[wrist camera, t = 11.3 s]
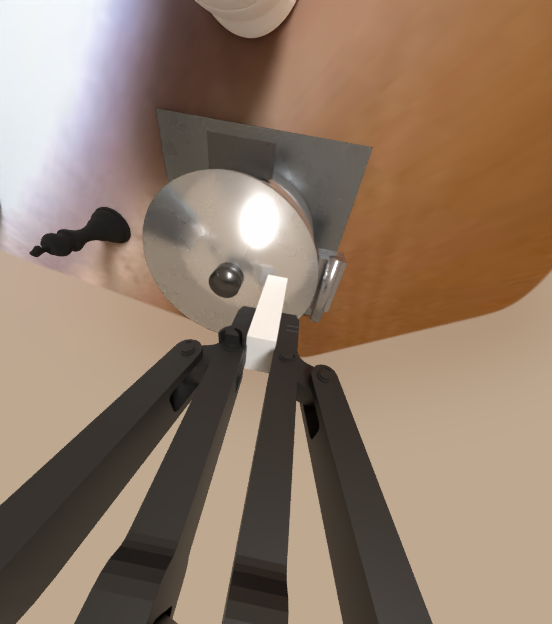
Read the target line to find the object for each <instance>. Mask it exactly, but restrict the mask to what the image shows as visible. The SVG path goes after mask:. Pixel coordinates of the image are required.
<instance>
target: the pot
mask: <svg viewBox="0 0 552 624" xmlns="http://www.w3.org/2000/svg"><path fill="white" fill-rule="evenodd" d="M156 114H157V120H158V126H159V132H160V138H161V144H162V150H163V156H164V161H165V167H166V173H167V179H168V183H170V182H171V181H172V180H174V179H176V178H178V177H180V176H182V175H185V174H187V173H191V172H195V171H199V170H210V169H225V170H234V171H237V172H241V173H245V174H248V175H251V176H253V177H255V178H258V179H260V180H262V181H264V182H265V183H267V184H268V185H270V186H272V187H273V188H275V189H276V190H277V191H278V192H280V193H281V194H282V195H283V196H285V197H286V198H287V199H288V200H289V201H290V203H291V204H292V205H293V206H294V207H295V208H296V209H297V211H298V212H299V213H300V215H301V216H302V218H303V219H304V221H305V223H306V224H307V226H308V228H309V230H310V232H311V235H312V238H313V241H314V243H315V247H316V252H317V259H318V282H317V287H316V291H315V294H314V297H313V299H312V302H311V303H310V305H309V307H308V308H307V310H306V311H305V312H304V314H306V315H311V312H312V309H313V306H314V303H315V300H316V296H317V293H318V290H319V287H320V284H321V281H322V278H323V275H324V272H325V269H326V266H327V263H328V260H329V257H330V256H332V255H334V256H338V257H340V258H342V259H343V261H342V264H341V266H340V269H339V272H338V274H337V277H336V279H335V282H334V285H333V287H332V290H331V293H330V295H329V298H328V301H327V303H326V306H325V309H324V311H325V312H328V310H329V307H330V305H331V302H332V300H333V297H334V295H335V292H336V290H337V287H338V285H339V282H340V279H341V277H342V274H343V272H344V269H345V267H346V264H347V262H346V260H345V257H344V254H343V253H341V252H337V249H338V246H339V244H340V241H341V238H342V235H343V232H344V229H345V226H346V223H347V220H348V218H349V215H350V212H351V209H352V206H353V203H354V200H355V197H356V194H357V191H358V189H359V186H360V183H361V180H362V177H363V174H364V171H365V168H366V165H367V162H368V160H369V157H370V154H371V151H372V148H373V147H369V146H363V145H357V144H352V143H346V142H341V141H335V140H330V139H324V138H319V137H313V136H307V135H302V134H296V133H291V132H285V131H280V130H274V129H269V128H263V127H257V126H252V125H246V124H241V123H235V122H230V121H224V120H219V119H213V118H207V117H202V116H196V115H191V114H185V113H180V112H174V111H169V110H163V109H157V108H156Z"/></svg>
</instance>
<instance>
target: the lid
mask: <svg viewBox="0 0 552 624" xmlns="http://www.w3.org/2000/svg"><path fill="white" fill-rule="evenodd" d="M143 249H144V253H145V258H146V261H147V264H148V267H149V270H150V272H151V274H152V276H153V278H154V280H155V282H156V283H157V285H158V287H159V288H160V290H161V291H162V292H163V294H164V295H165V296H166V298H167V299H168V300H169V301H170V302H171V303H172V304H173V305H174V306H175V307H176V308H177V309H178V310H179V311H180V312H182V313H183V314H184V315H185V316H187V317H188V318H190V319H191V320H193V321H194V322H196V323H197V324H199V325H201V326H203V327H205V328H207V329H210V330H212V331H214V332H217V333H218V332H219V331H220V330H221V329H222V328H224V327H226V326H231V325H232V323H233V321H234V318H235V316H236V314H237V312H238V310H239V309H240V308H241V307H243V306H248V307H253V308H257V305H258V302H259V300H260V297H261V294H262V291H263V288H264V285H265V282H266V280H267V277H268V275H273V276H278V277H283V278H288V280H287V285H286V291H285V296H284V302H283V308H282V313H286V314H292V315H296V316H297V318H298V319H299V318H300V317H301V316H302V315H303V314H304V312H305V311H306V310H307V308H308V307H309V305H310V303H311V302H312V299H313V297H314V294H315V291H316V287H317V282H318V259H317V252H316V247H315V243H314V241H313V238H312V235H311V232H310V230H309V228H308V226H307V224H306V223H305V221H304V219H303V218H302V216H301V215H300V213H299V212H298V211H297V209H296V208H295V207H294V206H293V205H292V204H291V203H290V201H289V200H288V199H287V198H286V197H285V196H283V195H282V194H281V193H280V192H278V191H277V190H276V189H275V188H273V187H272V186H270V185H268V184H267V183H265V182H264V181H262V180H260V179H258V178H255V177H253V176H251V175H248V174H245V173H241V172H237V171H234V170H225V169H210V170H199V171H195V172H191V173H187V174H185V175H182V176H180V177H178V178H176V179H174V180H172V181H171V182H170V183H168V184H167V185H166V186H164V187H163V188H162V189H161V190H160V191H159V193H158V194H157V195H156V196H155V198H154V199H153V201H152V202H151V204H150V206H149V208H148V211H147V213H146V216H145V220H144V225H143ZM342 261H343V259H342V258H340V257H338V256H334V255H332V256H330V257H329V260H328V263H327V266H326V269H325V272H324V275H323V278H322V281H321V284H320V287H319V290H318V293H317V296H316V300H315V303H314V306H313V309H312V312H311V315H310V319H311V320H312V321H313V322H319V321H320V319H321V317H322V314H323V311H324V309H325V306H326V303H327V301H328V298H329V295H330V293H331V290H332V287H333V285H334V282H335V279H336V277H337V274H338V272H339V269H340V266H341V264H342Z"/></svg>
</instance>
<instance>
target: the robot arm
mask: <svg viewBox="0 0 552 624" xmlns="http://www.w3.org/2000/svg"><path fill="white" fill-rule="evenodd" d="M287 280H288V278H283V277H278V276H273V275H268V277H267V280H266V282H265V285H264V288H263V291H262V294H261V297H260V300H259V302H258V305H257V308H253V307H248V306H243V307H241V308H240V309H239V310H238V312H237V314H236V316H235V318H234V321H233V323H232V325H231V326H226V327H224V328H222V329H221V330H220V331H219V332H218V333H219V334H218V335H219V343H217V344H214V345H204V346H201V344H200V342H198V341H197V340H192V339H190V340H184V341H181V342H180V343H178V344H177V345H176V346H174V347H173V348H172V349H171V350H170V351H169V352H168V353H167V354H166V355H165V356H164V357H163V358H161V359H160V360H159V361H158V362H157V363H156V364H155V365H154V366H153V367H151V368H150V369H149V370H148V371H147V372H146V373H145V374H144V375H143V376H142V377H140V379H138V380H137V381H136V382H135V383H134V384H133V385H132V386H131V387H130V388H128V389H127V390H126V391H125V392H124V393H123V394H122V395H121V396H120V397H119V398H117V399H116V400H115V401H114V402H113V403H112V404H111V405H110V406H109V407H108V408H107V409H106V410H104V411H103V412H102V413H101V414H100V415H99V416H98V417H97V418H96V419H94V420H93V421H92V422H91V423H90V424H89V425H88V426H87V427H86V428H85V429H84V430H82V431H81V432H80V433H79V434H78V435H77V436H76V437H75V438H74V439H73V440H71V442H69V443H68V444H67V445H66V446H65V447H64V448H63V449H62V450H60V451H59V452H58V453H57V454H56V455H55V456H54V457H53V458H52V459H51V460H50V461H48V462H47V463H46V464H45V465H44V466H43V467H42V468H41V469H40V470H39V471H37V473H35V474H34V475H33V476H32V477H31V478H30V479H29V480H28V481H27V482H25V483H24V484H23V485H22V486H21V487H20V488H19V489H18V490H17V491H16V492H14V494H12V495H11V496H10V497H9V498H8V499H7V500H6V501H5V502H3V503H2V504H1V505H0V624H16V623H17V622H18V620H19V619H20V618H21V617H22V616H23V615H24V614H25V613H26V612H27V610H28V609H29V608H30V607H31V606H32V605H33V604H34V603H35V601H36V600H37V599H38V598H39V596H40V595H41V594H42V593H43V592H44V590H45V589H46V588H47V587H48V585H49V584H50V583H51V582H52V581H53V579H54V578H55V577H56V576H57V574H58V573H59V572H60V570H61V569H62V568H63V567H64V565H65V564H66V563H67V561H68V560H69V559H70V557H71V556H72V555H73V553H74V552H75V551H76V550H77V548H78V547H79V546H80V544H81V543H82V542H83V540H84V539H85V538H86V537H87V535H88V534H89V533H90V531H91V530H92V529H93V528H94V526H95V525H96V524H97V522H98V521H99V520H100V518H101V517H102V516H103V515H104V513H105V512H106V511H107V509H108V508H109V506H110V505H111V504H112V503H113V501H114V500H115V499H116V498H117V496H118V495H119V494H120V492H121V491H122V490H123V489H124V487H125V486H126V485H127V483H128V482H129V481H130V479H131V478H132V476H134V474H135V473H136V471H137V470H138V469H139V468H140V466H141V465H142V464H143V463H144V461H145V460H146V459H147V457H148V456H149V455H150V453H151V452H152V451H153V449H154V448H155V447H156V445H157V444H158V443H159V442H160V440H161V439H162V438H163V436H164V435H165V434H166V433H167V431H168V430H169V429H170V427H171V426H172V425H173V423H174V422H175V421H176V420H177V418H178V417H179V416H180V414H181V413H182V412H183V410H184V409H185V408H186V407H187V405H188V404H189V403H190V401H191V400H192V401H191V403H190V405H189V407H188V409H187V411H186V414H185V416H184V418H183V420H182V422H181V424H180V426H179V428H178V430H177V432H176V434H175V436H174V438H173V441H172V443H171V445H170V447H169V449H168V451H167V453H166V455H165V457H164V460H163V461H162V463H161V466H160V468H159V470H158V472H157V474H156V476H155V478H154V480H153V482H152V485H151V487H150V488H149V491H148V493H147V495H146V497H145V499H144V501H143V503H142V505H141V507H140V510H139V511H138V514H137V516H136V518H135V520H134V522H133V524H132V526H131V528H130V530H129V533H128V534H127V536H126V538H125V540H124V541H123V543H122V544H121V546H120V547H119V548H118V549H117V551H116V552H115V553H114V554H113V555H112V556H111V558H110V559H109V560H108V562H107V563H106V565H105V567H104V568H103V570H102V571H101V573H100V575H99V576H98V578H97V580H96V582H95V584H94V586H93V588H92V589H91V592H90V593H89V595H88V598H87V600H86V601H85V603H84V605H83V607H82V609H81V611H80V613H79V615H78V617H77V619H76V621H75V623H74V624H177V623H176V622H175V621H174V620H173V619H172V618H173V614H174V611H175V608H176V604H177V600H178V597H179V594H180V591H181V587H182V584H183V580H184V577H185V573H186V569H187V564H188V558H189V554H190V550H191V546H192V543H193V540H194V536H195V533H196V529H197V526H198V523H199V520H200V516H201V513H202V510H203V506H204V503H205V500H206V496H207V493H208V490H209V486H210V483H211V480H212V476H213V473H214V470H215V466H216V463H217V460H218V456H219V453H220V450H221V446H222V443H223V440H224V436H225V433H226V430H227V427H228V423H229V420H230V417H231V413H232V410H233V406H234V403H235V400H236V397H237V393H238V390H239V387H240V383H241V380H242V374H243V369H244V366H245V369H250V370H256V371H260V372H265V373H269V378H268V382H267V387H266V393H265V398H264V403H263V409H262V414H261V420H260V425H259V430H258V435H257V441H256V446H255V451H254V456H253V462H252V467H251V473H250V478H249V483H248V488H247V493H246V500H245V504H244V510H243V515H242V520H241V526H240V531H239V537H238V542H237V546H236V552H235V557H234V562H233V567H232V572H231V578H230V583H229V588H228V594H227V599H226V604H225V609H224V615H223V621H222V624H288V593H287V592H288V591H287V575H286V574H287V553H288V536H289V517H290V501H291V482H292V464H293V447H294V429H295V412H296V401H298V402H300V407H301V412H302V417H303V422H304V427H305V432H306V437H307V442H308V447H309V452H310V457H311V463H312V468H313V473H314V478H315V483H316V488H317V493H318V498H319V503H320V508H321V513H322V519H323V524H324V529H325V534H326V539H327V543H328V549H329V554H330V559H331V564H332V569H333V574H334V579H335V585H336V589H337V595H338V600H339V605H340V610H341V615H342V620H343V624H432V621H431V619H430V616H429V614H428V611H427V608H426V606H425V603H424V600H423V598H422V595H421V592H420V590H419V587H418V585H417V582H416V580H415V577H414V574H413V572H412V569H411V566H410V564H409V561H408V559H407V556H406V554H405V551H404V548H403V546H402V543H401V540H400V538H399V535H398V533H397V530H396V527H395V525H394V522H393V520H392V517H391V514H390V512H389V509H388V507H387V504H386V501H385V499H384V496H383V494H382V491H381V489H380V486H379V483H378V481H377V478H376V475H375V473H374V470H373V468H372V465H371V462H370V460H369V457H368V455H367V452H366V449H365V447H364V444H363V442H362V439H361V436H360V434H359V431H358V428H357V426H356V423H355V421H354V418H353V415H352V413H351V410H350V408H349V405H348V402H347V400H346V397H345V395H344V392H343V389H342V387H341V385H340V382H339V379H338V376H337V374H336V373H335V371H334V370H333V369H331V368H330V367H328V366H326V365H316V366H315V367H313V366H311V365H309V364H307V363H305V362H304V361H303V360H302V359H301V358H300V357H299V355H298V352H297V347H298V331H299V320H298V318H297V316H296V315H292V314H286V313H282V308H283V302H284V296H285V291H286V285H287Z"/></svg>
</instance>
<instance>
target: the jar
mask: <svg viewBox="0 0 552 624" xmlns="http://www.w3.org/2000/svg"><path fill="white" fill-rule="evenodd" d="M194 1H196V2H197V3H198V4H199V5H201V6H202V7H203V8H205V9H206V10H208V11H209V12H211V13H212V15H213V16H214V17H215V18H216V19H217V21H218V22H219V23H220V24H221V25H222V26H224V27H225V28H226V29H227V30H229V31H230V32H232V33H234V34H236V35H238V36H241V37H245V38H257V37H261V36H264V35H266V34H268V33H270V32H271V31H273V30H274V29H276V28H277V27H278V26H279V25H280V24H281V23H282V22H283V21H284V19H285V18H286V17H287V16H288V14H289V13H290V11H291V10H292V8H293V6H294V4H295V2H296V0H194Z"/></svg>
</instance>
